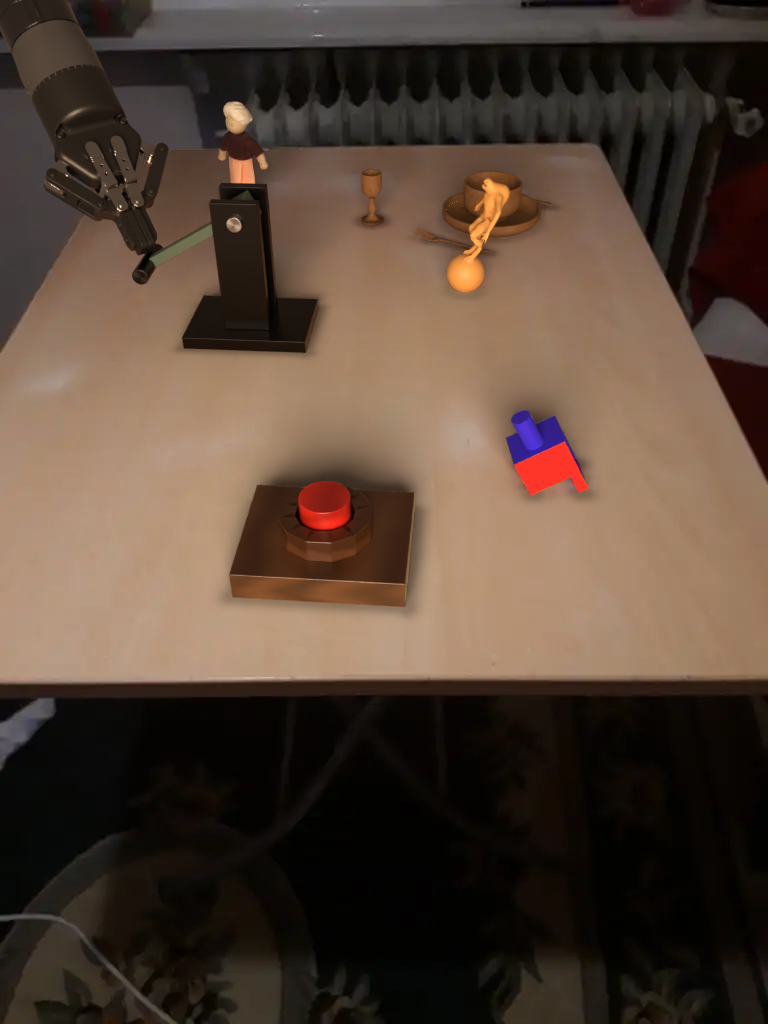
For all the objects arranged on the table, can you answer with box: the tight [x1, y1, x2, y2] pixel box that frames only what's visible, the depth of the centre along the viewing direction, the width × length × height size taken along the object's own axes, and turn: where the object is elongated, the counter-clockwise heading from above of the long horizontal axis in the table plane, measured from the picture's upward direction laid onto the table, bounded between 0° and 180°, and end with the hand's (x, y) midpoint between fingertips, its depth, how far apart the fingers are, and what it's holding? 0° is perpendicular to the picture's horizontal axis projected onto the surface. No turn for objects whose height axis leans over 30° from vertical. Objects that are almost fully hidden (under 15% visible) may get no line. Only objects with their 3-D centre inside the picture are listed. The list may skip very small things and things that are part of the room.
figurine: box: [446, 178, 510, 293], centre depth 97 cm, size 8×6×12 cm
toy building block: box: [505, 409, 589, 496], centre depth 74 cm, size 4×4×8 cm
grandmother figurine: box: [217, 101, 269, 184], centre depth 115 cm, size 8×4×13 cm, turn 67°
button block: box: [228, 483, 416, 608], centre depth 68 cm, size 12×10×4 cm
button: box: [298, 480, 351, 531], centre depth 66 cm, size 4×4×2 cm
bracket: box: [181, 182, 320, 354], centre depth 91 cm, size 12×9×14 cm
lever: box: [131, 190, 262, 286], centre depth 89 cm, size 13×6×2 cm, turn 85°
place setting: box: [360, 168, 553, 253], centre depth 115 cm, size 18×20×6 cm
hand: (147, 250), depth 91 cm, fingers closed
